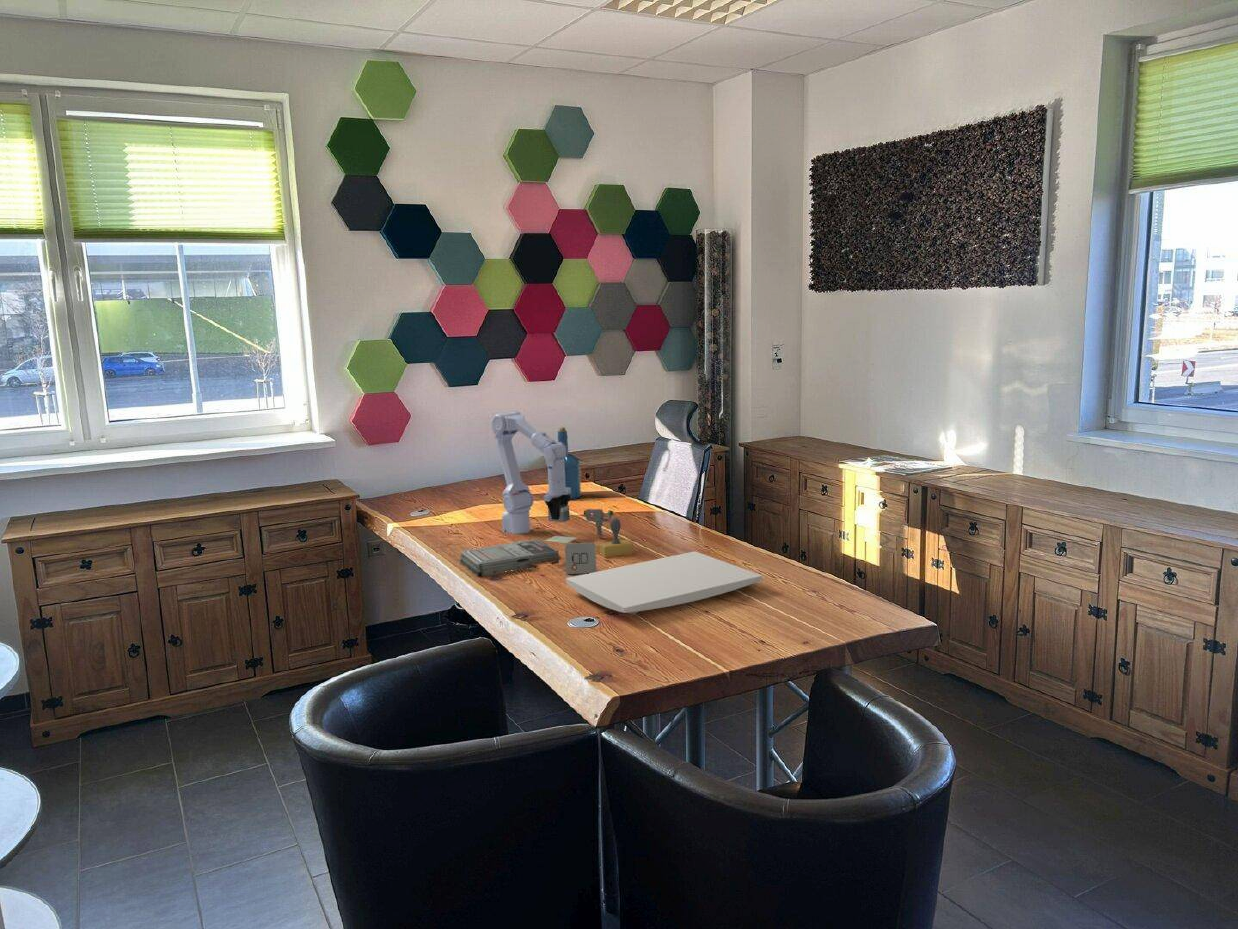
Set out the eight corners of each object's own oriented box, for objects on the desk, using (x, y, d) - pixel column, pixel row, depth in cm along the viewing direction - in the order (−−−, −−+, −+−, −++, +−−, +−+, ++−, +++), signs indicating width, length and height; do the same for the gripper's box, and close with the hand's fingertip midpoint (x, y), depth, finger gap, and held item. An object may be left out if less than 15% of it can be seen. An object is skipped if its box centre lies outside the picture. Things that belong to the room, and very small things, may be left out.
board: (625, 625, 236) (624, 608, 235) (566, 594, 263) (565, 578, 262) (762, 591, 258) (762, 575, 257) (695, 566, 285) (695, 551, 285)
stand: (544, 544, 316) (544, 540, 316) (555, 540, 322) (555, 535, 322) (567, 547, 312) (567, 543, 312) (577, 542, 318) (577, 537, 318)
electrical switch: (565, 575, 280) (564, 544, 279) (566, 571, 285) (565, 542, 285) (596, 574, 280) (595, 543, 279) (596, 570, 285) (595, 541, 285)
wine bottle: (543, 499, 390) (539, 428, 385) (562, 493, 401) (559, 424, 395) (569, 502, 382) (565, 430, 377) (588, 496, 393) (585, 426, 388)
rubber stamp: (604, 558, 297) (603, 521, 295) (599, 553, 303) (597, 518, 301) (633, 554, 301) (632, 518, 298) (627, 550, 306) (626, 514, 304)
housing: (548, 520, 315) (547, 506, 314) (554, 518, 318) (553, 504, 317) (563, 522, 312) (562, 507, 311) (569, 519, 316) (569, 505, 315)
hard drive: (460, 564, 298) (459, 551, 297) (538, 551, 310) (537, 538, 309) (478, 578, 282) (477, 564, 281) (560, 564, 293) (559, 550, 293)
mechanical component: (613, 539, 320) (611, 511, 318) (584, 538, 322) (583, 510, 320) (614, 537, 323) (613, 509, 321) (586, 536, 325) (585, 509, 323)
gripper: (555, 483, 305) (557, 523, 307) (577, 475, 317) (579, 514, 320) (537, 482, 308) (539, 521, 310) (560, 474, 321) (561, 512, 323)
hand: (558, 517), depth 315 cm, fingers closed on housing, 4 cm apart
